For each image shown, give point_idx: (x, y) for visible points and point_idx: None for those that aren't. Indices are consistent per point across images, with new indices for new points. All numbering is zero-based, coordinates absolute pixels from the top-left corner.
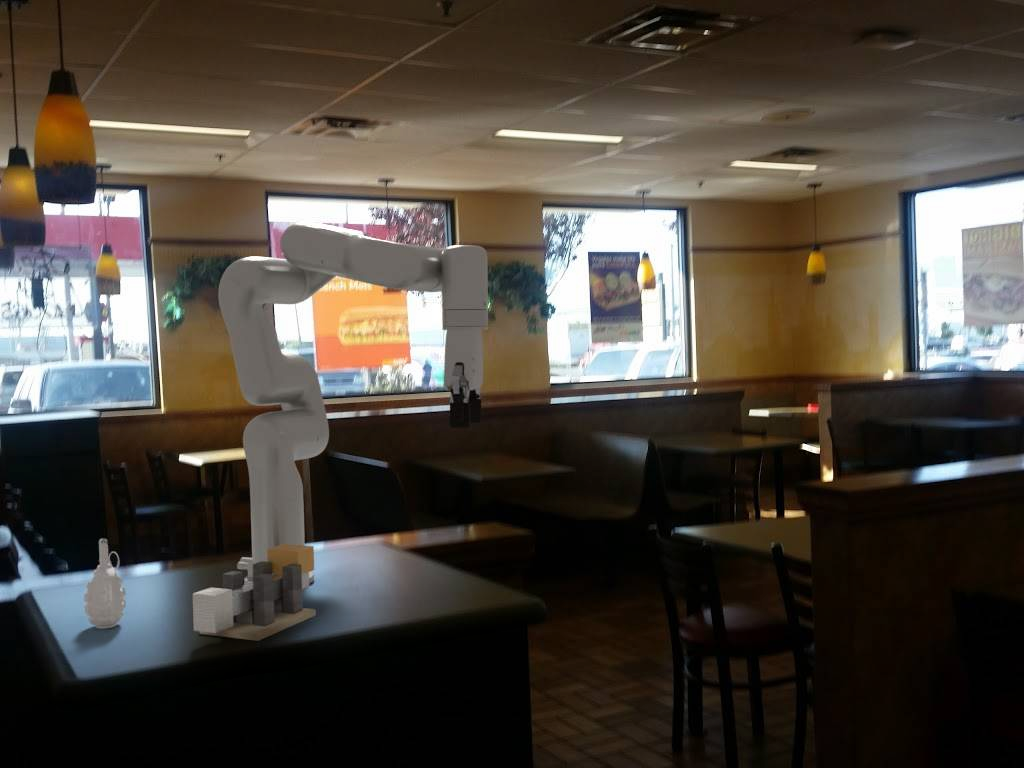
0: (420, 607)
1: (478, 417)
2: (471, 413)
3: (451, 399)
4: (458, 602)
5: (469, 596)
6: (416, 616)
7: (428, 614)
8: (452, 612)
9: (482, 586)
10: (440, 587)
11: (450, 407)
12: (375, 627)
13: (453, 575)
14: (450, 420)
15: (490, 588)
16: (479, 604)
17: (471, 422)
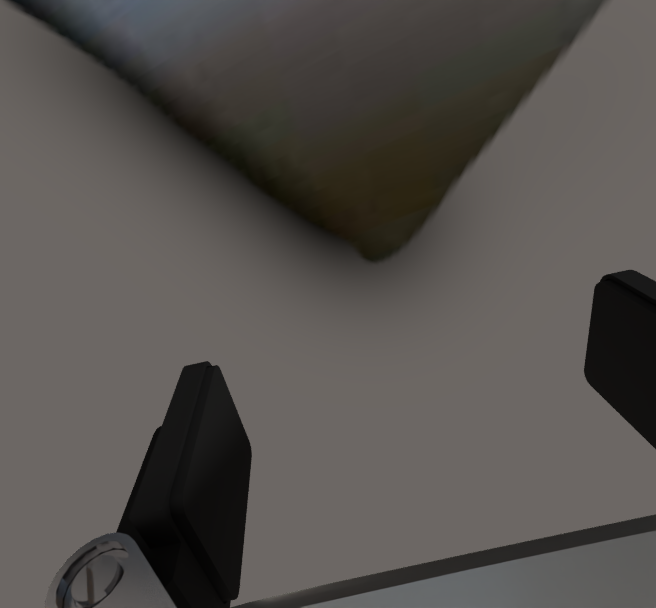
0: (280, 71)
1: (604, 389)
2: (630, 367)
3: (57, 596)
4: (338, 135)
5: (386, 138)
6: (217, 96)
7: (239, 114)
8: (268, 155)
9: (467, 131)
10: (448, 38)
11: (144, 480)
12: (111, 46)
13: (561, 17)
14: (174, 395)
15: (454, 154)
16: (335, 181)
17: (593, 326)
